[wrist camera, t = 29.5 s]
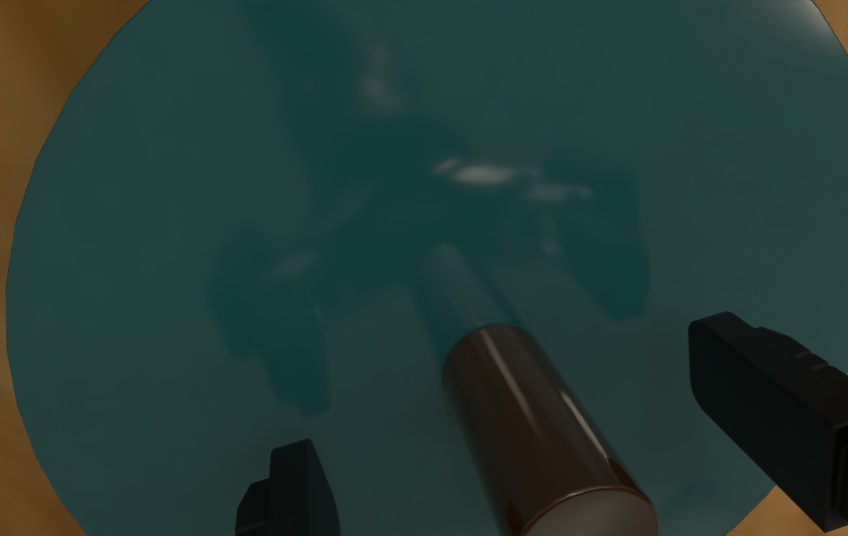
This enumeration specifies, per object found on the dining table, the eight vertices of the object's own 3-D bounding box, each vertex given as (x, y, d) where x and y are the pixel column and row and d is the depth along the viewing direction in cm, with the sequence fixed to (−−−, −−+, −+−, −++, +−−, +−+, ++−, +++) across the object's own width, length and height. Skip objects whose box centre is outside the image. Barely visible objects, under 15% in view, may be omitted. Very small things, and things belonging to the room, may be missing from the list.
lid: (229, 709, 18) (198, 1015, 13) (-204, 22, 10) (-850, 43, 4) (823, 507, 20) (1027, 703, 14) (884, -239, 11) (1440, -472, 6)
